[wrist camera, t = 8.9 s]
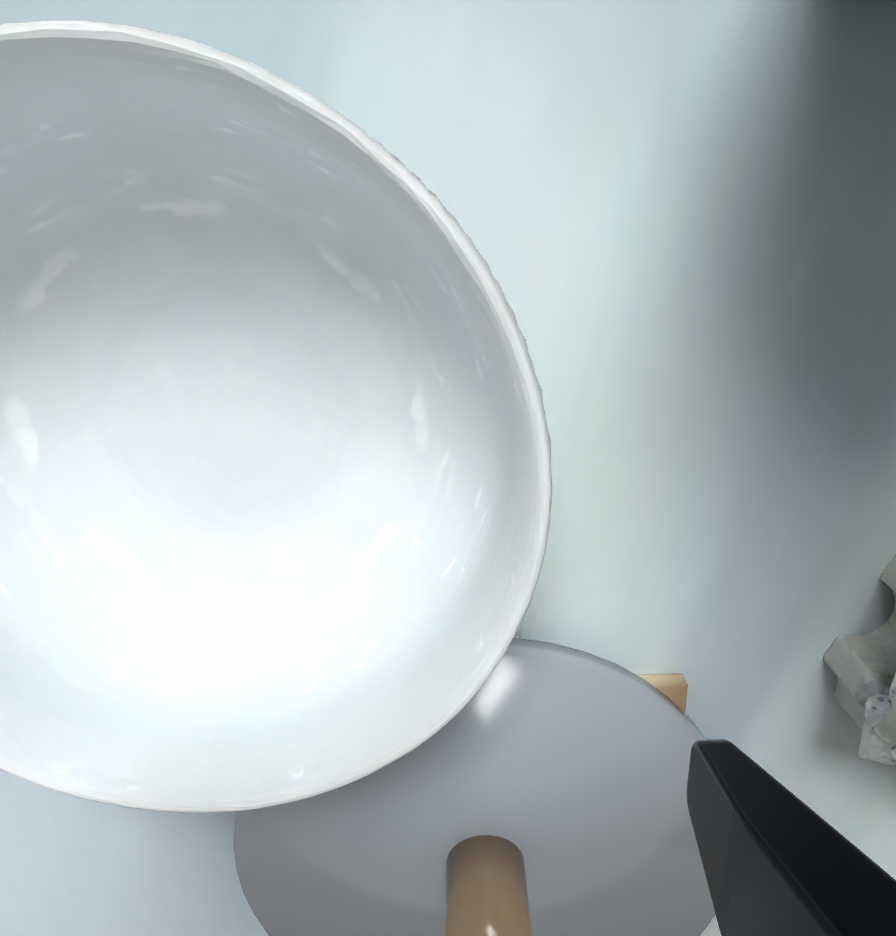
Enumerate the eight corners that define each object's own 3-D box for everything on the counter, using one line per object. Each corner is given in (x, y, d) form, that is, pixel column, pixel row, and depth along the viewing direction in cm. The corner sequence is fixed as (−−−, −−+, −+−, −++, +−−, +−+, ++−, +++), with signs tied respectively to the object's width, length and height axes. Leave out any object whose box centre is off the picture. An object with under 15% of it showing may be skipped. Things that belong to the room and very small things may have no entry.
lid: (756, 628, 23) (836, 742, 18) (703, 992, 29) (751, 1144, 25) (204, 645, 23) (141, 760, 18) (275, 1000, 30) (242, 1152, 25)
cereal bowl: (614, 514, 22) (684, 653, 15) (181, 714, 25) (84, 903, 18) (325, -65, 16) (239, -238, 10) (-185, 281, 19) (-513, 328, 13)
